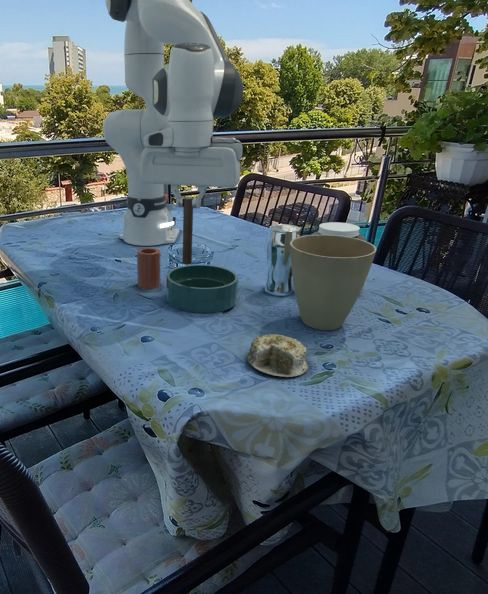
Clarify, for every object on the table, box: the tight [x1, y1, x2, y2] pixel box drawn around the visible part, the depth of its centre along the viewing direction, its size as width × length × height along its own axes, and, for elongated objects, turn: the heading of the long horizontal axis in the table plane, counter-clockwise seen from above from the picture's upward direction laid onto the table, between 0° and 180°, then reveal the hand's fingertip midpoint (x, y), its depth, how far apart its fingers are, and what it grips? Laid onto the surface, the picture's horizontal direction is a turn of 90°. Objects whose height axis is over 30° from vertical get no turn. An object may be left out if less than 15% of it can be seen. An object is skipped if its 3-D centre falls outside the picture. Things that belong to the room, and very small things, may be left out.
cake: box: [246, 333, 309, 378], centre depth 77 cm, size 10×10×5 cm
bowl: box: [166, 264, 239, 314], centre depth 101 cm, size 15×15×6 cm
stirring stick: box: [181, 196, 194, 265], centre depth 98 cm, size 2×2×14 cm
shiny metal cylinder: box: [264, 223, 302, 297], centre depth 104 cm, size 7×7×15 cm
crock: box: [136, 247, 161, 290], centre depth 109 cm, size 5×5×9 cm
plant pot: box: [290, 234, 377, 331], centre depth 89 cm, size 15×15×16 cm
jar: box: [310, 221, 367, 242], centre depth 105 cm, size 12×12×15 cm
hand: (188, 207), depth 96 cm, fingers closed on stirring stick, 2 cm apart
